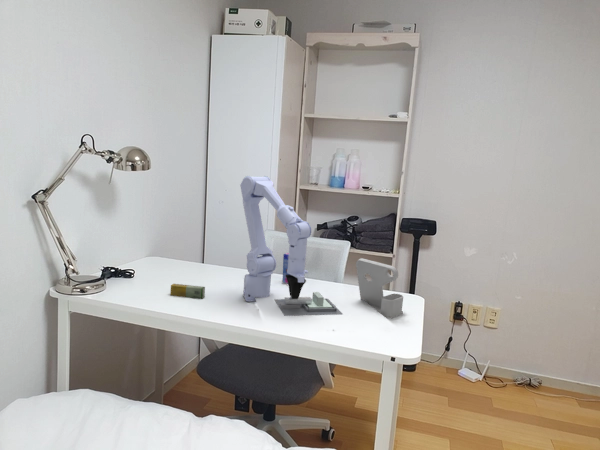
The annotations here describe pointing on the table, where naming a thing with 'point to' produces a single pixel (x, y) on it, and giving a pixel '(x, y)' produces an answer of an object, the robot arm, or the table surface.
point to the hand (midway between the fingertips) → (294, 297)
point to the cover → (318, 302)
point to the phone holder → (378, 287)
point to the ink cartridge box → (286, 267)
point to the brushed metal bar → (298, 300)
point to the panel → (305, 309)
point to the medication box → (188, 291)
